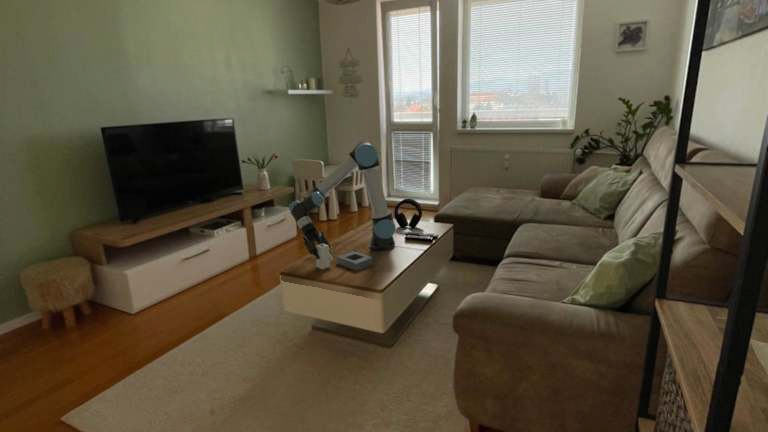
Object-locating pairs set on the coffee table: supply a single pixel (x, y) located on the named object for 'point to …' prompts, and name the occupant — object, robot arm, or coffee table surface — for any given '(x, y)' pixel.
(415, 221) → the headphones
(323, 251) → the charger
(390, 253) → the coffee table surface
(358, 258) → the block
